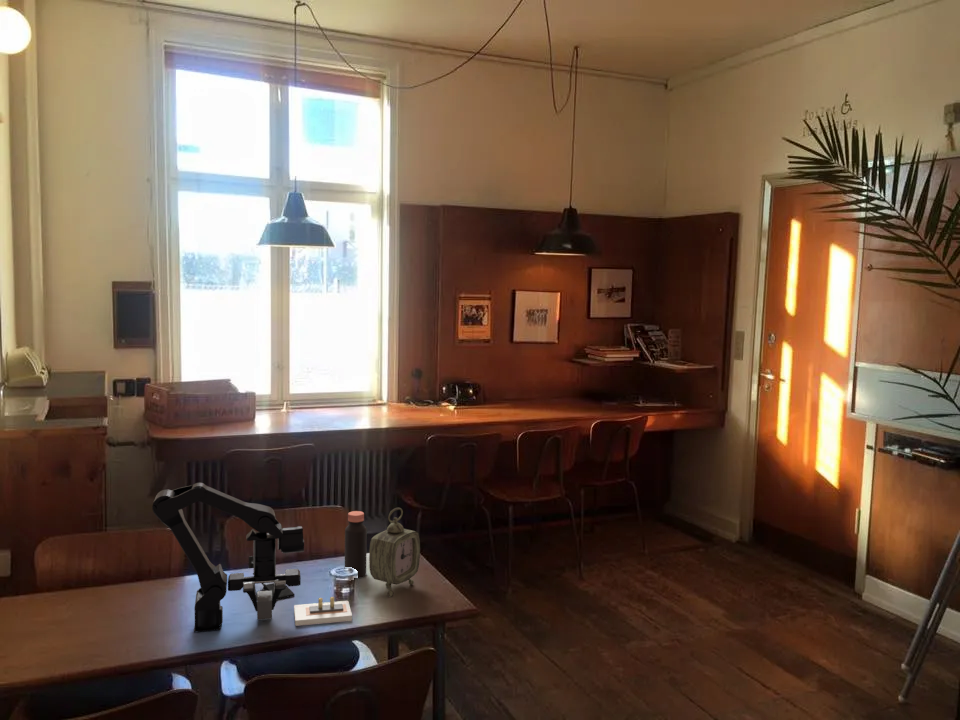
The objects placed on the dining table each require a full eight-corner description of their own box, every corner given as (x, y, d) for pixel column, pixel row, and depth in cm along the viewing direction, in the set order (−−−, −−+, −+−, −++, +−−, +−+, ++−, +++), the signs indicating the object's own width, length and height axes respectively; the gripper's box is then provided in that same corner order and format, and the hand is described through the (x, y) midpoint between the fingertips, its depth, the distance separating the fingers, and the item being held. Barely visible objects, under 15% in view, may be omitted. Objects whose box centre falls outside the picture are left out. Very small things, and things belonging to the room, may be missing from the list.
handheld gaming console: (301, 589, 227) (279, 567, 223) (284, 609, 223) (262, 587, 219) (282, 582, 236) (261, 561, 232) (266, 602, 232) (245, 581, 228)
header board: (295, 625, 207) (295, 608, 206) (294, 610, 216) (294, 593, 216) (351, 620, 211) (352, 603, 210) (348, 605, 220) (348, 589, 220)
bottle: (349, 580, 238) (350, 517, 236) (341, 573, 244) (341, 511, 242) (369, 576, 242) (370, 514, 240) (360, 569, 248) (361, 508, 246)
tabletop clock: (391, 600, 225) (392, 516, 222) (366, 593, 229) (367, 511, 227) (419, 584, 237) (421, 504, 235) (395, 577, 242) (396, 499, 239)
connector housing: (272, 618, 206) (272, 600, 206) (257, 619, 205) (257, 601, 205) (271, 607, 213) (271, 590, 212) (257, 609, 212) (257, 591, 211)
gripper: (299, 542, 218) (298, 595, 219) (229, 546, 213) (229, 600, 214) (300, 555, 207) (300, 611, 209) (227, 560, 202) (227, 618, 204)
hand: (264, 610), depth 209 cm, fingers closed on connector housing, 4 cm apart
